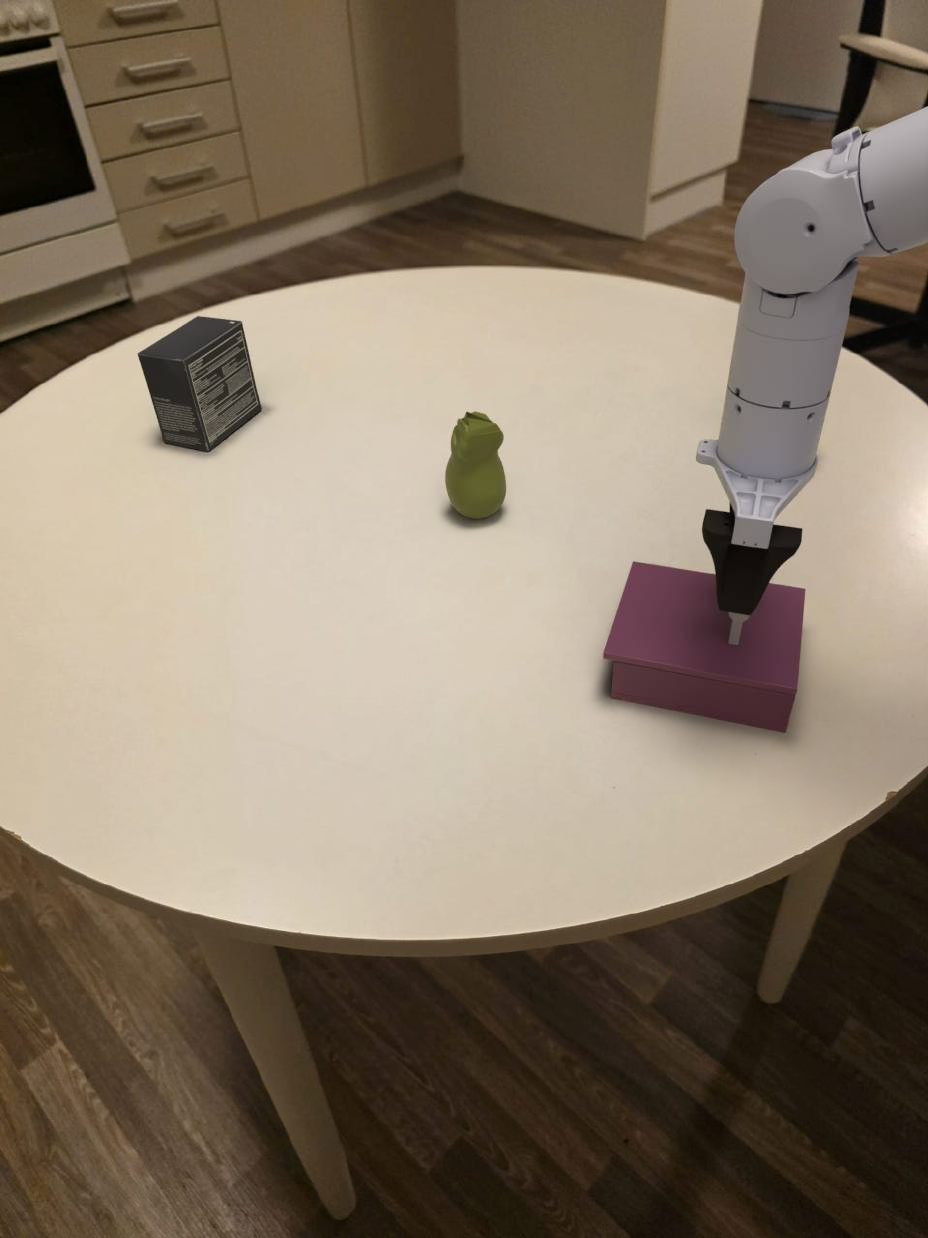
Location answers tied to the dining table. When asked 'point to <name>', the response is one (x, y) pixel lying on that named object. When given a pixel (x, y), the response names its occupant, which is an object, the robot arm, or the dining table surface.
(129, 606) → the dining table surface
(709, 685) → the purple hinged box
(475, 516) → the green figurine
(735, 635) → the lid
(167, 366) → the small box
